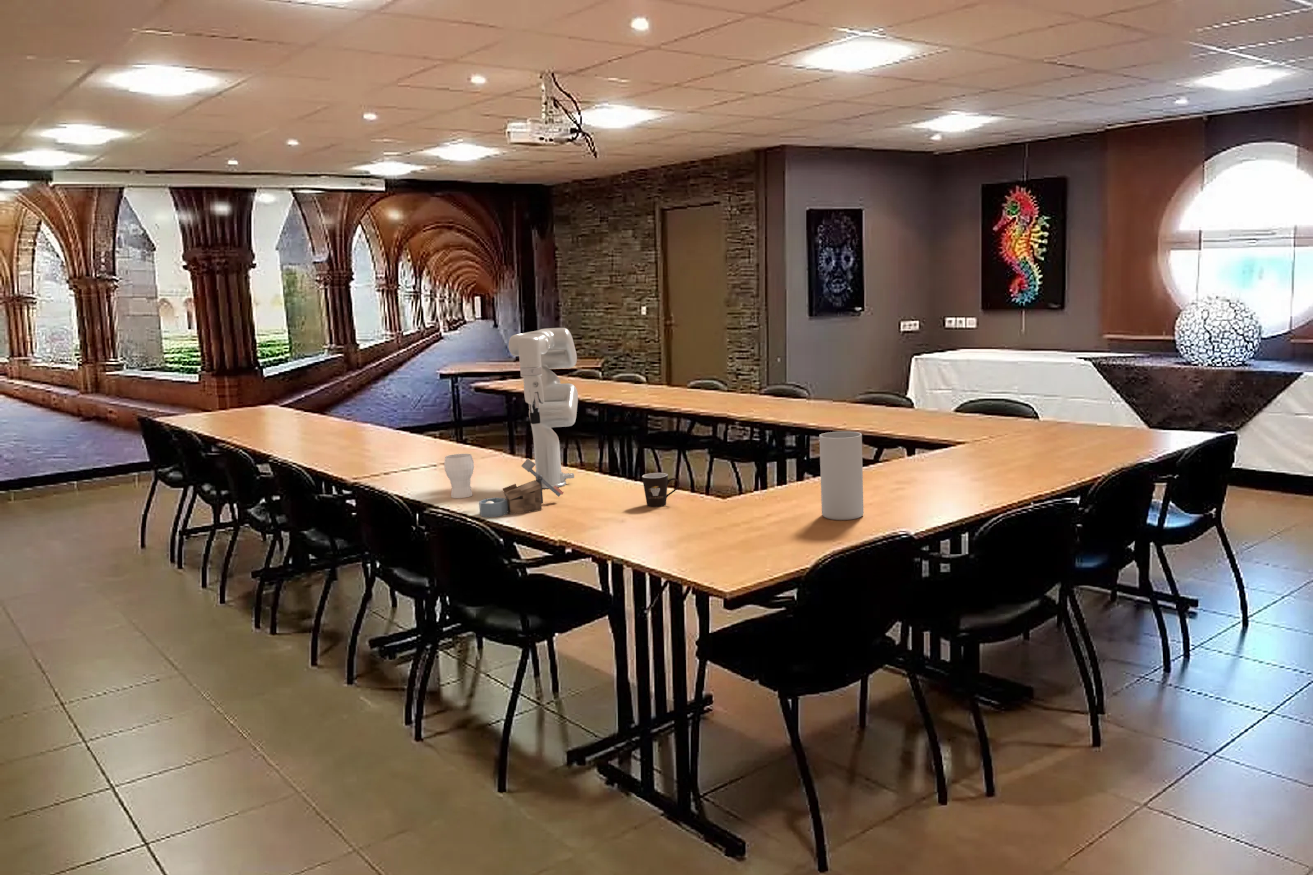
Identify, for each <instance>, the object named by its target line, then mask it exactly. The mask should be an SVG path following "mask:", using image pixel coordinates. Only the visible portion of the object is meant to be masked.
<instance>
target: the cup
mask: <svg viewBox="0 0 1313 875" xmlns="http://www.w3.org/2000/svg"><path fill="white" fill-rule="evenodd" d="M474 465H475V464H474V459H473V455H472V454H471V453H454V454H448V455H446V456H444V461H443V467H444V472H445V474H446V476H447V478H448V480H449V481H450V485H451V486H450V487H451V494H450V498H452V499H463V498H470V497H471V496H473V492H472V491H473V490H472V487H471V478H472V476H473V474H474V468H475V466H474Z"/></svg>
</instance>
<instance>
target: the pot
mask: <svg viewBox="0 0 1313 875" xmlns="http://www.w3.org/2000/svg"><path fill="white" fill-rule="evenodd" d="M487 501H492V502H494V503H486V502H487ZM478 509H479V515H480V516H481V517H482V518H493V517H494V518H495V517H502V516H504V515H507V514H509V512H508V505H507V500H506V497H490V498H485V499H482V500H479V501H478Z"/></svg>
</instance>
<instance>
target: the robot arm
mask: <svg viewBox="0 0 1313 875" xmlns="http://www.w3.org/2000/svg"><path fill="white" fill-rule="evenodd" d="M508 350H509V352H510V354H511V355H512V356H513V357H519V370H520V377H521V378H523V392H524V393H523V394H524V400H525V401H524V402H525V403H526V404H528V409H529V410H528V416H529V422H530V426H531V431H532V438H533V440H532V441H533V452H534V463H535V464H536V465H535V466H534V467H535V472H536V473H537V474H538V475H541V476H542V477H543V479H544V480H545V481H546V482H548V483H549V484H550V485H551V486H552V487H554V486H557V487H558V488H560V487H564V486H566V485H567V481H566V480H567V479H570V480H571V479H574V478H575V473H574V472H572V473H569V472H567V473H564V472H563V471H562V465H561V448H560V440H559V436H558V434H557V433H556V432H555V431H554V430H553V428H562V427H565V428H566V427H572V426H573V425H575V423H576V419H577V414H578V413H577V412H578V403H579V393H578V389H577V387H576V386H575V385H574V384H572V383H568V382H567V383H561V379H560V377H559V376H558V375H557V374H556V373H555V372H553V371H552V370H556V369H558V370H559V369H571V368H574V367H575V366H576V364H577V361H578V356H577V355H578V354H577V351H576V348H575V343H574V338H573V335H572V334H571V331H570V330H569V329H568V328H566V327H551V328H549V327H548V328H540V329H537V330H534V331H527V332H523V333H517V334H513V335H511V336H510V338H509V340H508ZM542 489H549V488H548V487H547V486H546V485H544V484H543V483H542Z"/></svg>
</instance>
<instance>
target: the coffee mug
mask: <svg viewBox="0 0 1313 875" xmlns="http://www.w3.org/2000/svg"><path fill="white" fill-rule="evenodd" d="M668 477H669V474H668V473H664V472H652V473H646V474H643V475H642V476H641V478H642V483H643V484H642V485H643V490H644V495H645V500H646V506H647V507H649V508H660V507H665V506H666V505H667V498H668V497H669V496H670V495H671V494H673V493H674V492H676V491H677V490H678V489H679V487H680V485H681V484H680V480H678V478H675V477H671V478H670V479H669V478H668ZM671 481H676V482H677V486H676V487H675V488H674V490H673V489H672V491H670V492H669V493H668V485H669V484H670V482H671ZM664 505H665V506H664Z"/></svg>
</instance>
